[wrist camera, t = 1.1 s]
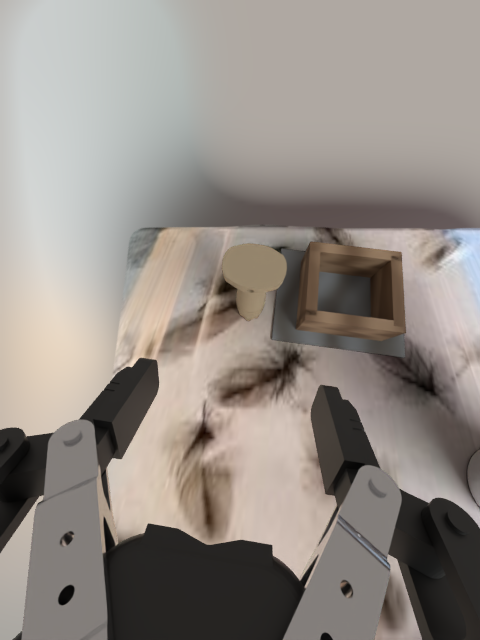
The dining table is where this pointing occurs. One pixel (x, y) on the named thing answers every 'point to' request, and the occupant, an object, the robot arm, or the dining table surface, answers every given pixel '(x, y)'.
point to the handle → (253, 275)
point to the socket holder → (342, 299)
